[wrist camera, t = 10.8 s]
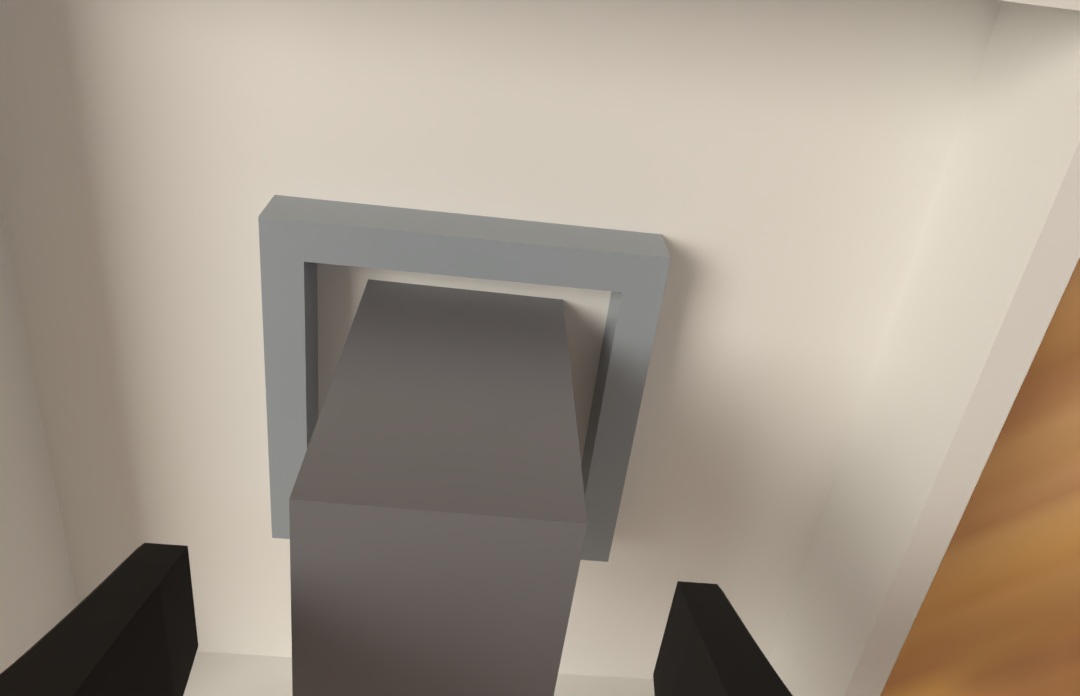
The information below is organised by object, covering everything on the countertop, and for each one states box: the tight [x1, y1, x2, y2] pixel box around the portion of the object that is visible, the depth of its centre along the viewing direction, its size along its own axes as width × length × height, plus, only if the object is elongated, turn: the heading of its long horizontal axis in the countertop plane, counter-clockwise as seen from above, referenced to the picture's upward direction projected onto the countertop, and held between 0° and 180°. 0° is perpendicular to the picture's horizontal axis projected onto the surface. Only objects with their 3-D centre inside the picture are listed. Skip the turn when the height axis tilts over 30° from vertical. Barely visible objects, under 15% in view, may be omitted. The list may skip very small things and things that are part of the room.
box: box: [0, 0, 1080, 696], centre depth 17 cm, size 20×20×4 cm
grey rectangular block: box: [289, 279, 588, 696], centre depth 16 cm, size 4×4×7 cm
